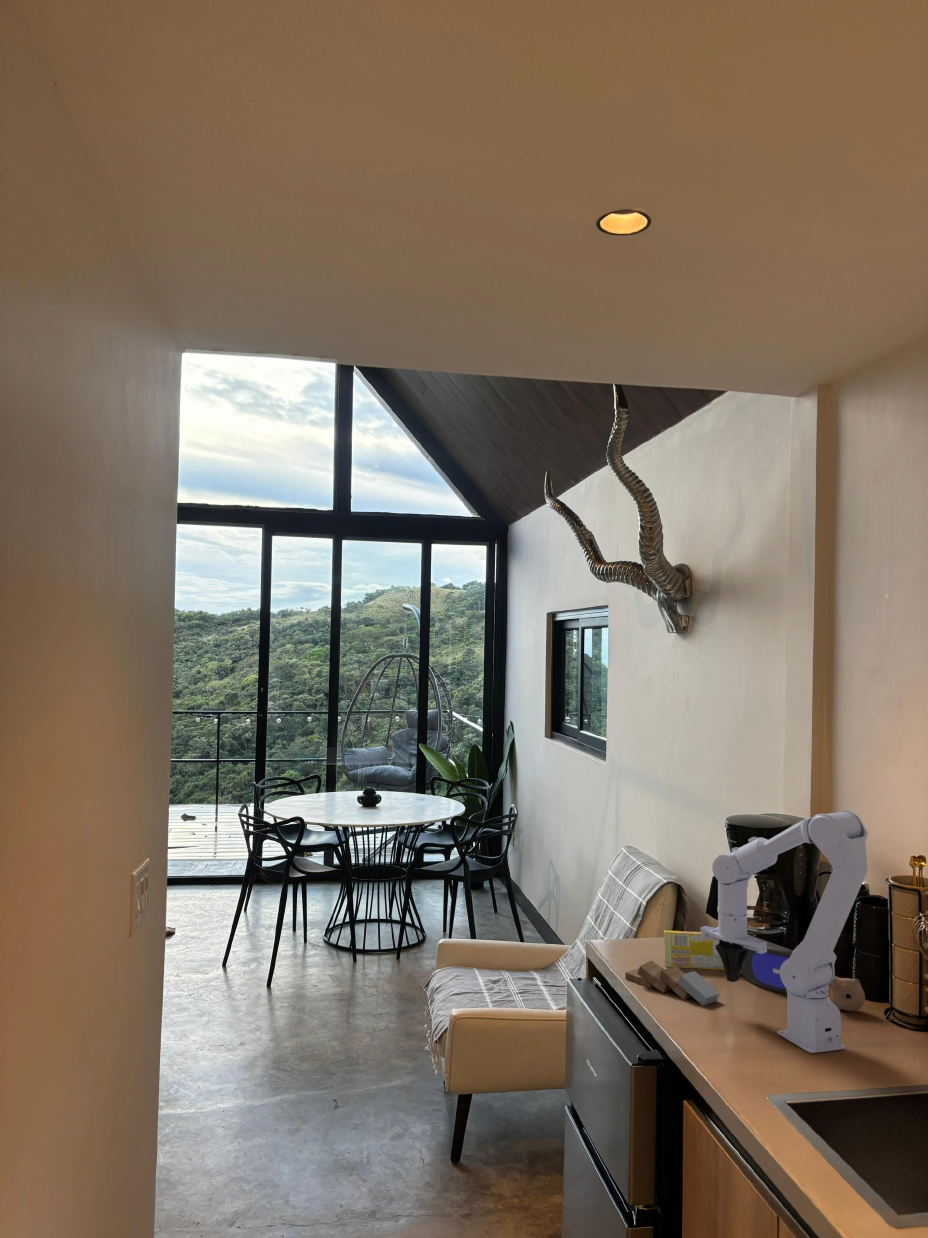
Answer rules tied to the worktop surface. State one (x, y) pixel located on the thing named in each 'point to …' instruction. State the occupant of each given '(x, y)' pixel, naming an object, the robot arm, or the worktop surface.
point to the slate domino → (698, 988)
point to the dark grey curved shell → (766, 967)
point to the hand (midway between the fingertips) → (732, 980)
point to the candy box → (691, 951)
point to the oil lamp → (847, 993)
